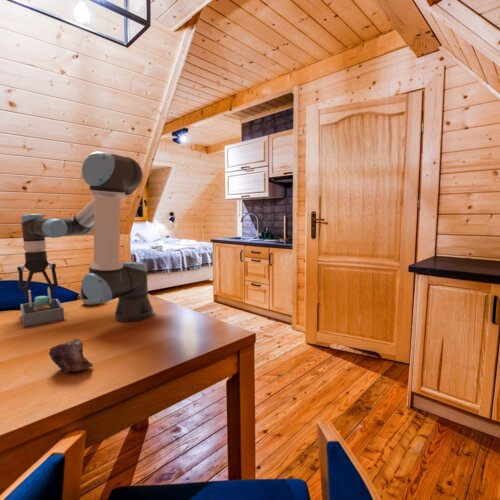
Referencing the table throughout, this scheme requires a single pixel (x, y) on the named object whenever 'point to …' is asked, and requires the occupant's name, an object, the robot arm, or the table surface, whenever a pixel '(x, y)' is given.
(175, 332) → the table surface
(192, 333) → the table surface
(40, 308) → the walnut cube
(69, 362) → the rock
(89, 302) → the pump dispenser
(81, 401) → the table surface
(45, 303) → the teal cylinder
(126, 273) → the robot arm
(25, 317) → the tote
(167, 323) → the table surface
